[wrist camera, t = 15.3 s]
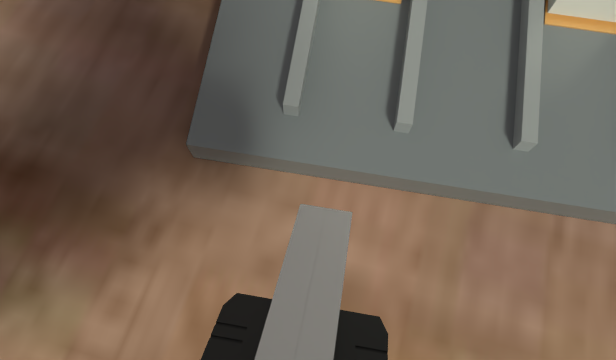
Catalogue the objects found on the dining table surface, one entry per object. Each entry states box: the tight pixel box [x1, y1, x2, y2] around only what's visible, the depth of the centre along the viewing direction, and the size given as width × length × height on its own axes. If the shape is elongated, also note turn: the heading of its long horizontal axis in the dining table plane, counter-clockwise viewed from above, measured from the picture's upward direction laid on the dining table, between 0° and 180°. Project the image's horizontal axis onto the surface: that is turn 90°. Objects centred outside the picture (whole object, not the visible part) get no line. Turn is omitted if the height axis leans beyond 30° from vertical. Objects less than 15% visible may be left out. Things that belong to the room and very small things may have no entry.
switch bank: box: [186, 0, 616, 224], centre depth 30 cm, size 28×16×3 cm, turn 81°
